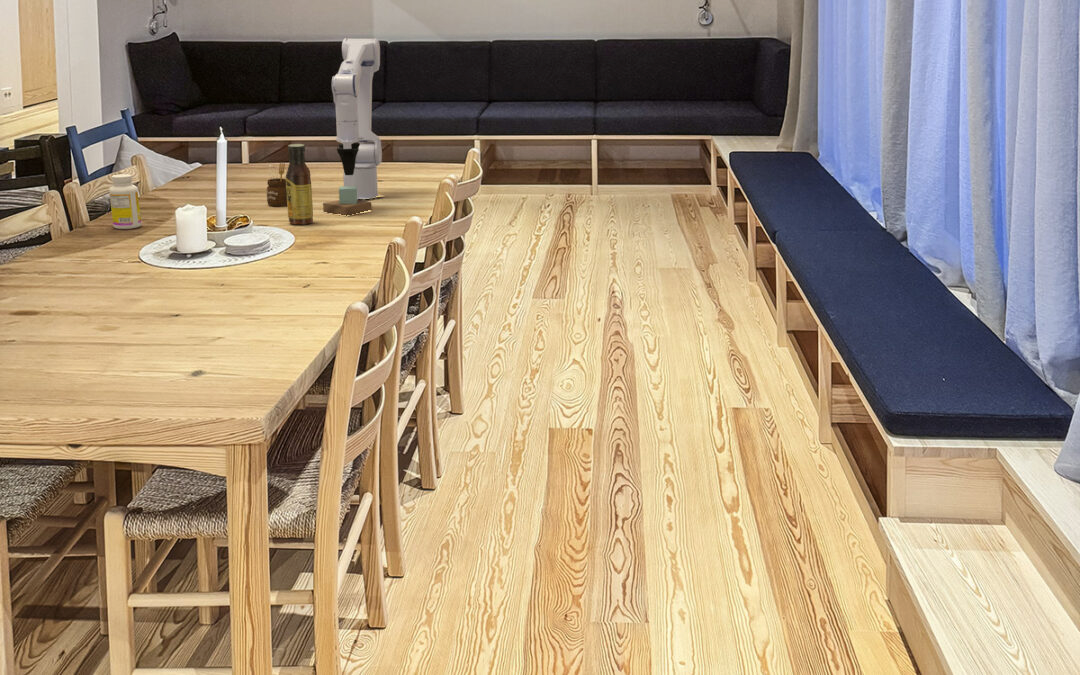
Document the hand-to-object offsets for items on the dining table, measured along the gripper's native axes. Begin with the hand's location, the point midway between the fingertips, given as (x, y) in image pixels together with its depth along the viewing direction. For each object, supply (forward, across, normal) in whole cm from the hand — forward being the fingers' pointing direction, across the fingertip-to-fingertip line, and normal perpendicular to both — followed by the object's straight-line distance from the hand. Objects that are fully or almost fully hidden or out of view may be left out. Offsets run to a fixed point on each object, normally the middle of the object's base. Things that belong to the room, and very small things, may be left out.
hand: (349, 172), depth 294 cm
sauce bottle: (+10, -15, +12) cm, 22 cm away
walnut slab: (+11, -1, +1) cm, 11 cm away
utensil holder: (+11, +11, +20) cm, 25 cm away
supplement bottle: (+10, -15, +55) cm, 58 cm away
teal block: (+8, -1, +1) cm, 8 cm away
